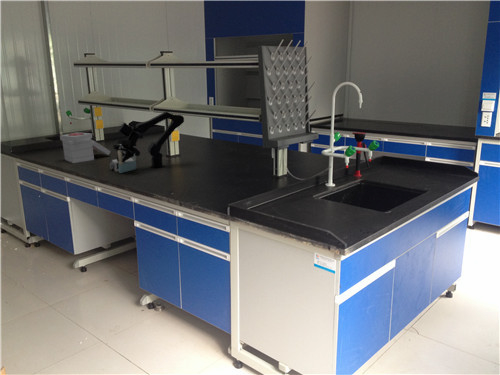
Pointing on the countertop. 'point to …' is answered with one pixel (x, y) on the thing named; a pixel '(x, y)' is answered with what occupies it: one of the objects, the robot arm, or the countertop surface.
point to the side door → (125, 164)
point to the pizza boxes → (80, 147)
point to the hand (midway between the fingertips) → (119, 161)
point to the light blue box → (115, 164)
